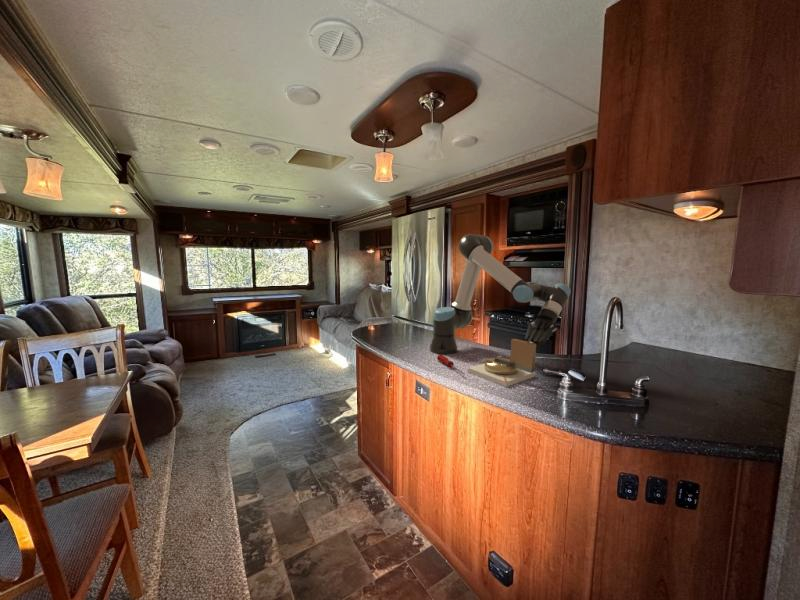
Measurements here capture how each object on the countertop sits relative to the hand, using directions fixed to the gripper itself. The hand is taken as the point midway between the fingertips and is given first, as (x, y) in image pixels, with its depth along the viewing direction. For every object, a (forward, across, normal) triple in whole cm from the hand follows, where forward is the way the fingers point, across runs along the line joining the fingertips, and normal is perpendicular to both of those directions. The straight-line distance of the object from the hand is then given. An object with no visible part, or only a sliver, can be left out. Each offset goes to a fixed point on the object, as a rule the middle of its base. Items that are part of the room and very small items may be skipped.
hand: (525, 355), depth 133 cm
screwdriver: (+19, +26, +5) cm, 33 cm away
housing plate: (+10, +8, -4) cm, 14 cm away
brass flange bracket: (+9, +4, -2) cm, 10 cm away
